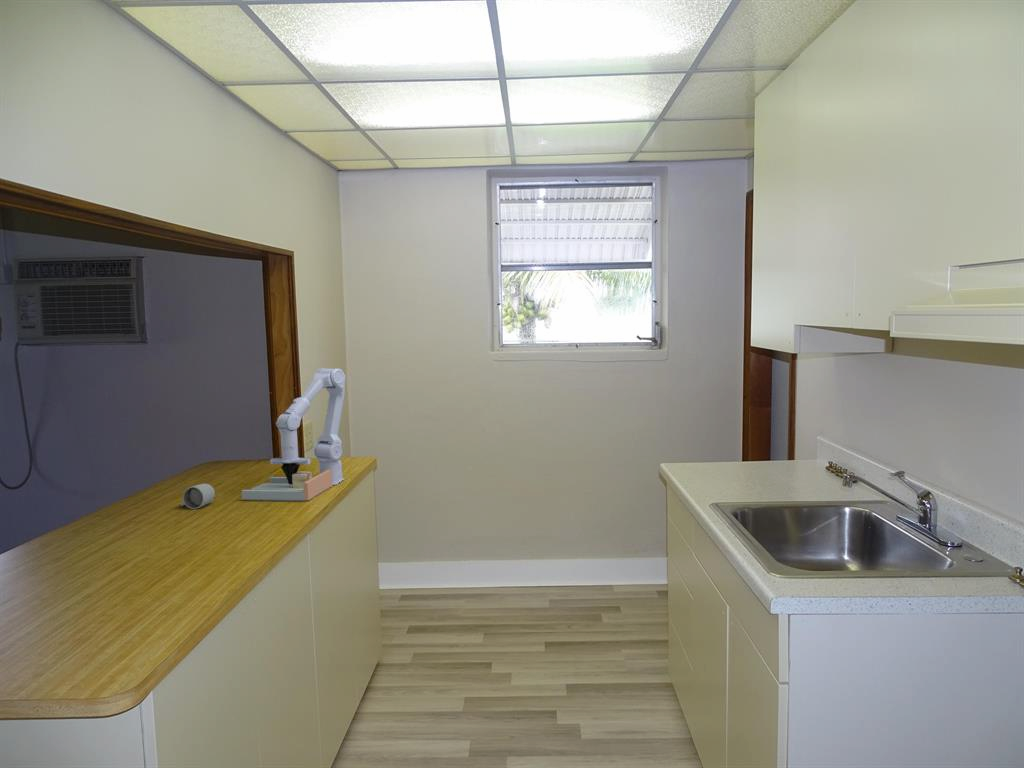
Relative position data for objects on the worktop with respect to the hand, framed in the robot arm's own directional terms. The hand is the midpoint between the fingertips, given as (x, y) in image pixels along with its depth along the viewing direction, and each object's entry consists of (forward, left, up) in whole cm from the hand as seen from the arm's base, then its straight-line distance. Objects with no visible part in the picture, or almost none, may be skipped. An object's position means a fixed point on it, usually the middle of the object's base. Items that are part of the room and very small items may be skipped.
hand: (291, 483), depth 246 cm
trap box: (0, -1, -3) cm, 4 cm away
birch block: (0, +4, -1) cm, 4 cm away
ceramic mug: (+18, -26, -4) cm, 32 cm away
